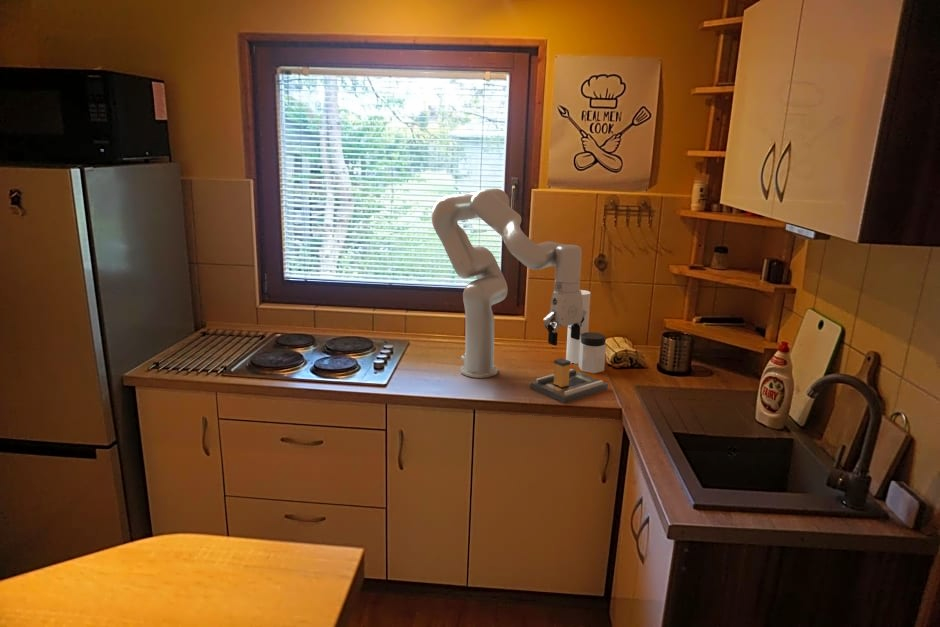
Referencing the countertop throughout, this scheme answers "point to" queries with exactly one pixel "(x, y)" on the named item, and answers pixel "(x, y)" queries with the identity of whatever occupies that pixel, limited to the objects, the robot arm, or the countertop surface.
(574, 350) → the cylindrical container
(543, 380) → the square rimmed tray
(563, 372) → the lever
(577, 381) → the panel
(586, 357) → the jar
